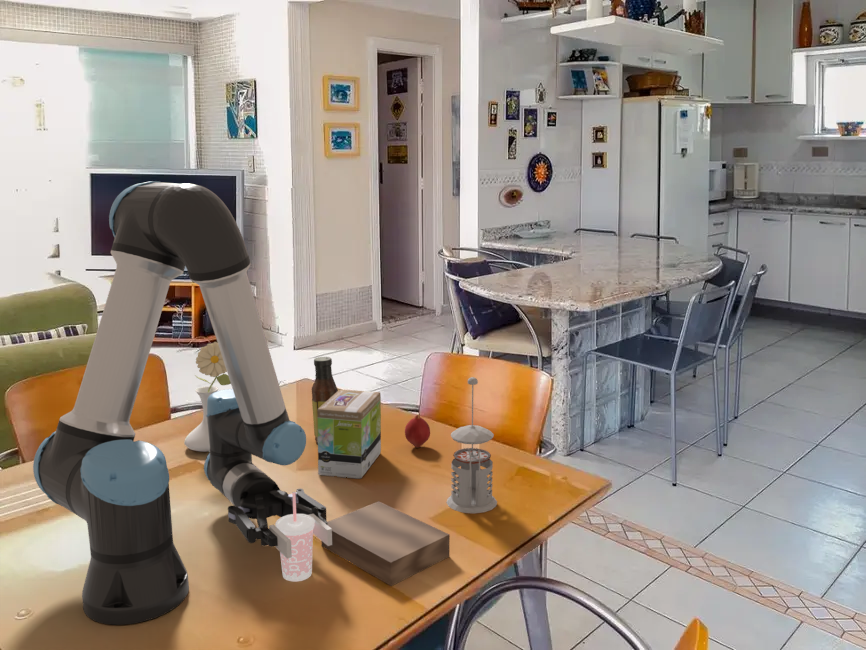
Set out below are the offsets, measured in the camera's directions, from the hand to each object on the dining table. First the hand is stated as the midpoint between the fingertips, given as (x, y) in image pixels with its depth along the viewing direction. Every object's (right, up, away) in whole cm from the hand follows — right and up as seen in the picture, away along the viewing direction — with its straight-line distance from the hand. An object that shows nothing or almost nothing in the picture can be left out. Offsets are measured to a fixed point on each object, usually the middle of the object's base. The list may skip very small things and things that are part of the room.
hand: (309, 543), depth 121 cm
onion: (+15, +5, +60) cm, 62 cm away
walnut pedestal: (+11, -5, +13) cm, 18 cm away
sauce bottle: (-6, +6, +64) cm, 65 cm away
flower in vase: (-31, +5, +61) cm, 68 cm away
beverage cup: (-3, -7, +6) cm, 9 cm away
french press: (+26, -1, +31) cm, 41 cm away
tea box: (+1, +3, +51) cm, 51 cm away
